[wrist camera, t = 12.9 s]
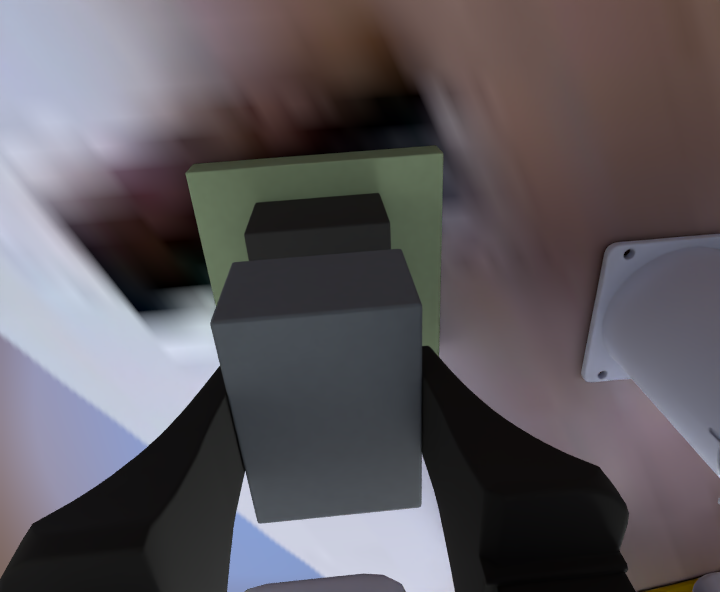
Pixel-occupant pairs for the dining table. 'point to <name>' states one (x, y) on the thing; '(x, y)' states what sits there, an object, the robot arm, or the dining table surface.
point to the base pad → (327, 179)
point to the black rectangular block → (317, 227)
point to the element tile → (677, 587)
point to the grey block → (324, 382)
